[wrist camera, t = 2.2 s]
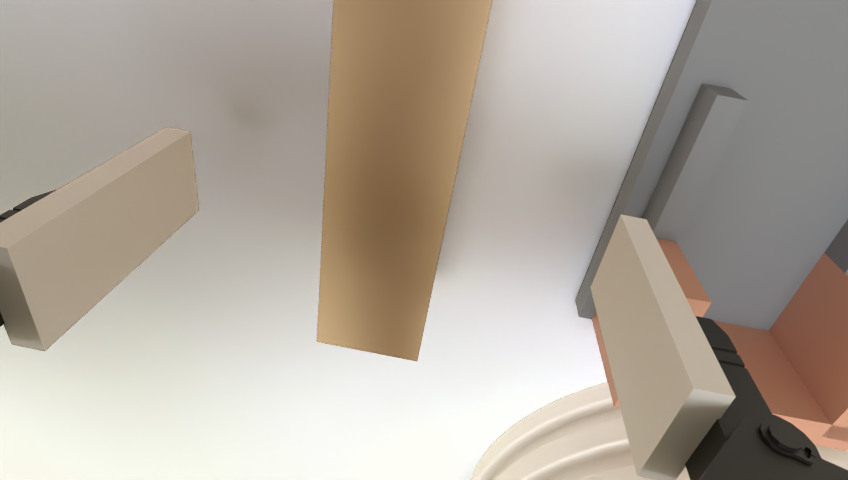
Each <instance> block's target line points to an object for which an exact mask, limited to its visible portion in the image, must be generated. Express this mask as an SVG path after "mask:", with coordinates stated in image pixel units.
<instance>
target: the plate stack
mask: <svg viewBox="0 0 848 480" xmlns="http://www.w3.org/2000/svg"><path fill="white" fill-rule="evenodd" d="M815 446H816V448H817V450H818V452H819V454H820V456H821V458H822V459H824V460H826V461H828V462H830V463H833V464H835V465H837V466H839V467H842V468H844V469H846V470H848V449H847V450H846V451H843V450H838V449H833V448H828V447H822V446H817V445H815ZM471 480H653V479H649V478H644V477H639V476H637V474H636V469H635V465H634V461H633V457H632V453H631V449H630V445H629V441H628V437H627V433H626V429H625V425H624V421H623V417H622V413H621V409H620V408H618V407H614V405H613V401H612V397H611V393H610V389H609V385H608V382H606V383H602V384H599V385H596V386H592V387H589V388H586V389H583V390H580V391H578V392H575V393H573V394H570V395H567V396H565V397H563V398H560V399H558V400H556V401H554V402H552V403H550V404H548V405H546V406H544V407H542V408H540V409H538V410H536V411H535V412H533V413H531V414H529V415H528V416H526V417H525V418H523V419H522V420H520V421H519V422H517V423H516V424H515V425H513V426H512V427H511V428H509V429H508V430H507V431H506V432H504V433H503V434H502V435H501V436H500V437H499V438H498V439H497V440H496V441H495V442H494V443H493V444H492V445H491V446H490V447H489V448H488V450H487V451H486V452H485V453H484V455H483V456H482V458H481V459H480V461H479V462H478V464H477V466H476V468H475V470H474V472H473V474H472V477H471ZM676 480H690V477H689V474H688V471H687V468H686V467H685V468H684V469H683V471H682V472H681V474H680V475H679V476H678V478H677V479H676Z"/></svg>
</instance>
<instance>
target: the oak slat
mask: <svg viewBox="0 0 848 480" xmlns="http://www.w3.org/2000/svg"><path fill="white" fill-rule="evenodd" d="M491 4H492V0H334V1H333V21H332V42H331V62H330V83H329V103H328V123H327V144H326V164H325V185H324V205H323V226H322V246H321V267H320V287H319V307H318V328H317V342H321V343H326V344H331V345H336V346H341V347H347V348H352V349H357V350H362V351H367V352H372V353H377V354H382V355H387V356H393V357H398V358H403V359H408V360H413V361H417V360H418V355H419V350H420V345H421V341H422V336H423V331H424V326H425V321H426V317H427V312H428V307H429V302H430V297H431V293H432V288H433V283H434V278H435V273H436V269H437V264H438V259H439V254H440V249H441V245H442V240H443V235H444V230H445V225H446V221H447V216H448V211H449V206H450V201H451V197H452V192H453V187H454V182H455V177H456V173H457V168H458V163H459V158H460V153H461V149H462V144H463V139H464V134H465V129H466V125H467V120H468V115H469V110H470V105H471V100H472V96H473V91H474V86H475V81H476V76H477V72H478V67H479V62H480V57H481V52H482V48H483V43H484V38H485V33H486V28H487V24H488V19H489V14H490V9H491Z"/></svg>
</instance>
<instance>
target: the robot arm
mask: <svg viewBox="0 0 848 480" xmlns="http://www.w3.org/2000/svg"><path fill="white" fill-rule="evenodd" d="M198 211H199V205H198V196H197V187H196V178H195V169H194V160H193V151H192V142H191V133H190V131H185V130H180V129H174V128H169V127H165V128H163V129H162V130H160V131H158V132H156V133H155V134H153V135H151V136H149V137H148V138H146V139H144V140H143V141H141V142H139V143H137V144H136V145H134V146H132V147H130V148H129V149H127V150H125V151H123V152H122V153H120V154H118V155H117V156H115V157H113V158H111V159H110V160H108V161H106V162H104V163H103V164H101V165H99V166H98V167H96V168H94V169H92V170H91V171H89V172H87V173H85V174H84V175H82V176H80V177H78V178H77V179H75V180H73V181H72V182H70V183H68V184H66V185H65V186H63V187H61V188H59V189H58V190H54V191H51V192H48V193H44V194H41V195H38V196H35V197H32V198H30V199H28V200H26V201H25V202H23V203H21V204H19V205H18V206H16V207H14V208H13V210H9V211H7V212H5V213H3V214H2V215H0V327H1V326H2V325H3V324H4V326H5V329H6V331H7V334H8V336H9V339H10V341H11V343H12V344H13V345H18V346H22V347H27V348H32V349H37V350H41V351H46V350H47V349H48V348H49V347H50V346H51V345H52V344H53V343H54V342H56V341H57V340H58V339H59V338H60V337H61V336H62V335H63V334H64V333H65V332H66V331H68V330H69V329H70V328H71V327H72V326H73V325H74V324H75V323H76V322H77V321H78V320H80V319H81V318H82V317H83V316H84V315H85V314H86V313H87V312H88V311H89V310H91V309H92V308H93V307H94V306H95V305H96V304H97V303H98V302H99V301H100V300H101V299H103V298H104V297H105V296H106V295H107V294H108V293H109V292H110V291H111V290H112V289H113V288H115V287H116V286H117V285H118V284H119V283H120V282H121V281H122V280H123V279H124V278H125V277H127V276H128V275H129V274H130V273H131V272H132V271H133V270H134V269H135V268H136V267H138V266H139V265H140V264H141V263H142V262H143V261H144V260H145V259H146V258H147V257H148V256H150V255H151V254H152V253H153V252H154V251H155V250H156V249H157V248H158V247H159V246H160V245H162V244H163V243H164V242H165V241H166V240H167V239H168V238H169V237H170V236H171V235H172V234H174V233H175V232H176V231H177V230H178V229H179V228H180V227H181V226H182V225H183V224H185V223H186V222H187V221H188V220H189V219H190V218H191V217H192V216H193V215H194V214H195V213H197V212H198ZM591 292H592V296H593V300H594V304H595V308H596V312H597V316H598V320H599V324H600V328H601V332H602V336H603V340H604V344H605V348H606V352H607V357H608V361H609V365H610V369H611V373H612V377H613V381H614V385H615V389H616V393H617V397H618V401H619V405H620V409H621V413H622V417H623V421H624V425H625V429H626V433H627V437H628V441H629V445H630V449H631V453H632V457H633V461H634V465H635V469H636V474H637V476H639V477H644V478H649V479H653V480H676V479H677V478H678V476H679V475H680V474H681V472H682V471H683V469H684V468H685V467H686V468H687V471H688V474H689V477H690V480H848V470H846V469H844V468H842V467H839V466H837V465H835V464H833V463H830V462H828V461H826V460H824V459H822V458H821V456H820V454H819V452H818V450H817V448H816V446H815V445H814V444H813V442H812V441H811V440H810V439H809V438H808V437H807V436H806V435H805V433H803V432H802V431H801V430H799V429H798V428H797V427H795V426H794V425H793V424H792V423H790V422H788V421H786V420H784V419H782V418H780V417H778V416H777V415H773V414H772V413H771V411H770V409H769V407H768V405H767V404H766V402H765V400H764V398H763V397H762V395H761V393H760V391H759V389H758V388H757V386H756V384H755V382H754V380H753V379H752V377H751V375H750V373H749V372H748V370H747V369H746V368H744V367H745V364H744V363H743V361H742V359H741V357H740V355H737V350H736V348H735V347H734V345H733V343H732V341H731V339H730V338H729V336H728V335H727V334H726V333H725V332H724V331H723V330H722V329H721V328H720V327H719V326H718V325H717V324H716V323H715V322H714V321H713V320H712V319H709V318H704V317H699V316H695V314H694V312H693V311H692V309H691V307H690V305H689V303H688V301H687V299H686V297H685V295H684V293H683V291H682V289H681V287H680V285H679V283H678V281H677V279H676V277H675V275H674V273H673V271H672V269H671V267H670V265H669V263H668V261H667V259H666V257H665V255H664V253H663V251H662V249H661V247H660V245H659V243H658V241H657V239H656V237H655V235H654V233H653V231H652V229H651V227H650V225H649V223H648V221H647V219H642V218H637V217H632V216H626V215H620V217H619V220H618V222H617V225H616V227H615V229H614V232H613V234H612V237H611V239H610V242H609V244H608V246H607V249H606V251H605V254H604V256H603V259H602V261H601V263H600V266H599V268H598V271H597V273H596V275H595V278H594V280H593V283H592V285H591Z"/></svg>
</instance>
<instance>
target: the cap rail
mask: <svg viewBox="0 0 848 480" xmlns="http://www.w3.org/2000/svg"><path fill="white" fill-rule="evenodd" d="M620 215H626V216H632V217H637V218H642V219H647V221H648V223H649V225H650V227H651V229H652V231H653V233H654V235H655V237H656V239H657V241H658V243H659V245H660V247H661V249H662V251H663V253H664V255H665V257H666V259H667V261H668V263H669V265H670V267H671V269H672V271H673V273H674V275H675V277H676V279H677V281H678V283H679V285H680V287H681V289H682V291H683V293H684V295H685V297H686V299H687V301H688V303H689V305H690V307H691V309H692V311H693V312H694V314H695V316H699V317H704V318H709V319H712V320H713V321H714V322H715V323H716V324H717V325H718V326H719V327H720V328H721V329H722V330H723V331H724V332H725V333H726V334H727V335H728V336H729V338H730V339H731V341H732V343H733V345H734V347H735V348H736V350H737V355H740V357H741V359H742V361H743V363H744V364H745V367H744V368H746V369H747V370H748V372H749V373H750V375H751V377H752V379H753V380H754V382H755V384H756V386H757V388H758V389H759V391H760V393H761V395H762V397H763V398H764V400H765V402H766V404H767V405H768V407H769V409H770V411H771V413H772V414H773V415H777V416H778V417H780V418H782V419H784V420H786V421H788V422H790V423H792V424H793V425H794V426H795V427H797V428H798V429H799V430H801V431H802V432H803V433H805V435H806V436H807V437H808V438H809V439H810V440H811V441H812V442H813V444H814V445H817V446H822V447H828V448H833V449H838V450H843V451H846V450H847V449H848V0H697V2H696V4H695V7H694V9H693V12H692V14H691V17H690V19H689V21H688V24H687V26H686V29H685V31H684V34H683V36H682V39H681V41H680V44H679V46H678V49H677V51H676V54H675V56H674V58H673V61H672V63H671V66H670V68H669V71H668V73H667V76H666V78H665V81H664V83H663V86H662V88H661V91H660V93H659V96H658V98H657V100H656V103H655V105H654V108H653V110H652V113H651V115H650V118H649V120H648V123H647V125H646V128H645V130H644V133H643V135H642V137H641V140H640V142H639V145H638V147H637V150H636V152H635V155H634V157H633V160H632V162H631V165H630V167H629V170H628V172H627V174H626V177H625V179H624V182H623V184H622V187H621V189H620V192H619V194H618V197H617V199H616V202H615V204H614V207H613V209H612V212H611V214H610V216H609V219H608V221H607V224H606V226H605V229H604V231H603V234H602V236H601V239H600V241H599V244H598V246H597V249H596V251H595V253H594V256H593V258H592V261H591V263H590V266H589V268H588V271H587V273H586V276H585V278H584V281H583V283H582V286H581V288H580V290H579V293H578V295H577V298H576V305H577V309H578V314H579V317H583V318H588V319H592V322H593V326H594V330H595V333H596V337H597V341H598V345H599V349H600V353H601V357H602V361H603V365H604V369H605V373H606V377H607V381H608V385H609V389H610V393H611V397H612V401H613V405H614V407H618V408H620V405H619V401H618V397H617V393H616V389H615V385H614V381H613V377H612V373H611V369H610V365H609V361H608V357H607V352H606V348H605V344H604V340H603V336H602V332H601V328H600V324H599V320H598V316H597V312H596V308H595V304H594V300H593V296H592V292H591V285H592V283H593V280H594V278H595V275H596V273H597V271H598V268H599V266H600V263H601V261H602V259H603V256H604V254H605V251H606V249H607V246H608V244H609V242H610V239H611V237H612V234H613V232H614V229H615V227H616V225H617V222H618V220H619V217H620Z"/></svg>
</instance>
